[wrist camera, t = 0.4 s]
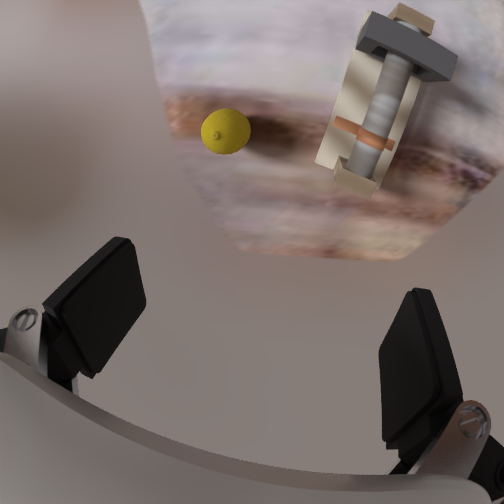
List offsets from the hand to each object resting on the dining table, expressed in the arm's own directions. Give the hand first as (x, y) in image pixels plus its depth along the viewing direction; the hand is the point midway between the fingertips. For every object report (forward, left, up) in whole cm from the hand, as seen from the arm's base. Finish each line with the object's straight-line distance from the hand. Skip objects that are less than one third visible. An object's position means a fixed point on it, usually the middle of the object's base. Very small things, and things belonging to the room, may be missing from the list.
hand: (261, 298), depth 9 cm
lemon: (+1, -9, -30) cm, 31 cm away
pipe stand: (-9, +6, -29) cm, 31 cm away
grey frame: (-15, +6, -27) cm, 32 cm away
